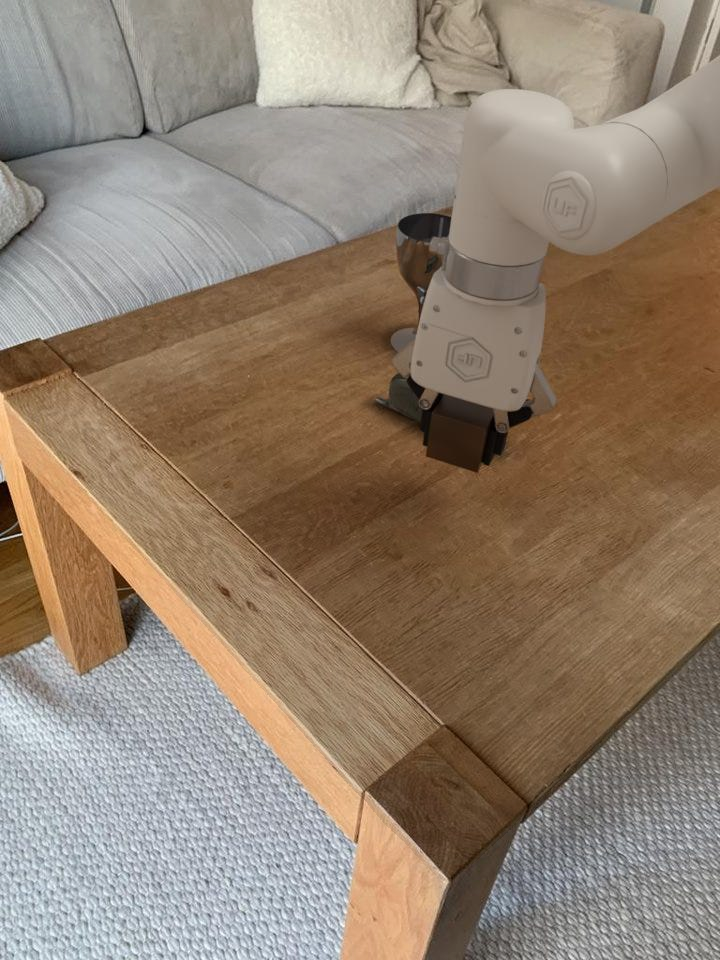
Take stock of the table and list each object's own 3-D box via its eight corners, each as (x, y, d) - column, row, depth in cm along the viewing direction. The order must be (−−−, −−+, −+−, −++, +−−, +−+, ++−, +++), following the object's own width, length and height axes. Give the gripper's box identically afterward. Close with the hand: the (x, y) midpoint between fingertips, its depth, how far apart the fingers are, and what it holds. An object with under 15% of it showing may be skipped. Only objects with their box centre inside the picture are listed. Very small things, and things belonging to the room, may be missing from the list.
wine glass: (448, 364, 98) (466, 247, 88) (382, 355, 99) (393, 238, 89) (453, 330, 104) (470, 217, 94) (391, 322, 105) (402, 209, 95)
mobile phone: (513, 410, 84) (390, 356, 89) (500, 424, 82) (375, 368, 87) (503, 447, 87) (385, 393, 93) (491, 461, 85) (371, 406, 91)
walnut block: (493, 442, 77) (502, 399, 73) (477, 473, 73) (486, 429, 70) (443, 426, 78) (450, 383, 75) (425, 456, 75) (431, 412, 71)
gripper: (373, 259, 63) (359, 442, 75) (592, 315, 59) (540, 501, 71) (408, 223, 68) (390, 400, 80) (611, 272, 64) (559, 452, 76)
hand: (460, 445), depth 75 cm, fingers closed on walnut block, 5 cm apart
